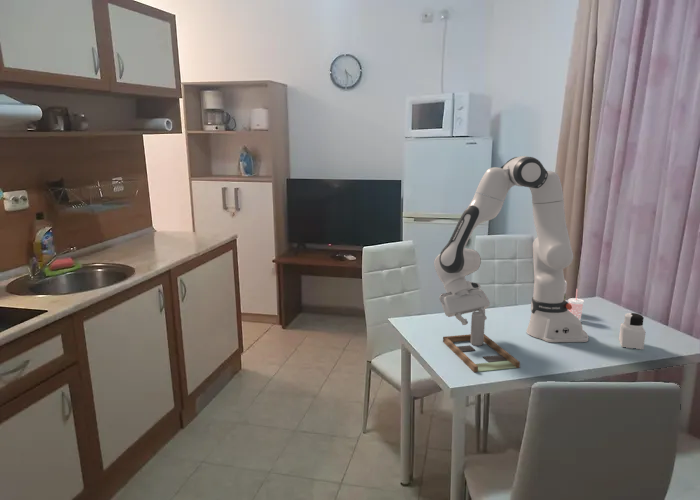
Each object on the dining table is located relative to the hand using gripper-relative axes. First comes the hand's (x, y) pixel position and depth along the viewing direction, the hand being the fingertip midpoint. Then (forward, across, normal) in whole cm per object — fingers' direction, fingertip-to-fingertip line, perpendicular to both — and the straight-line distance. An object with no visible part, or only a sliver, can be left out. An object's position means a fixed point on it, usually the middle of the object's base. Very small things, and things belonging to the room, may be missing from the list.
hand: (475, 322), depth 191 cm
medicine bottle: (+28, +48, -16) cm, 58 cm away
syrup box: (-1, +58, +12) cm, 59 cm away
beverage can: (+7, 0, +5) cm, 9 cm away
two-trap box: (+12, -6, -1) cm, 14 cm away
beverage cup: (+8, +54, +4) cm, 54 cm away
